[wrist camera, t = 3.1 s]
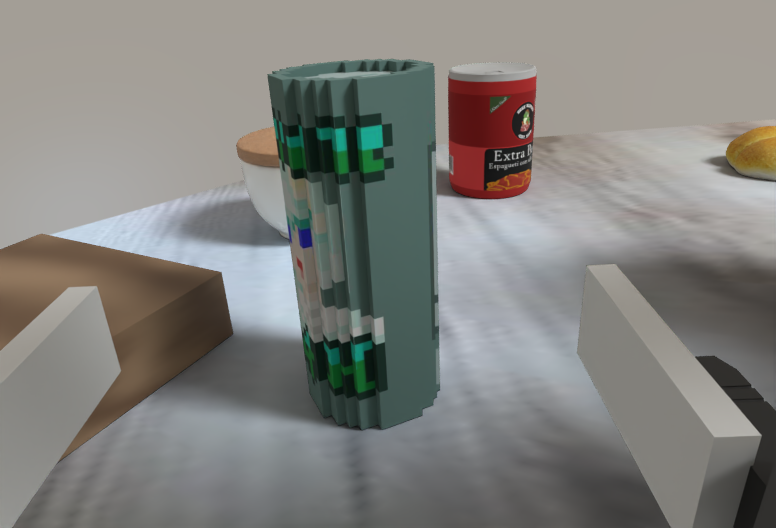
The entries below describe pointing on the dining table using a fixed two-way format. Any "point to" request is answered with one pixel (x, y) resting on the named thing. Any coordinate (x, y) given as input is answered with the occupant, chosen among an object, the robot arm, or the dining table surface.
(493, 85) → the canned food
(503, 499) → the dining table surface
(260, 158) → the lidded jar
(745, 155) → the bread roll
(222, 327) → the walnut base
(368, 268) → the can
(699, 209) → the dining table surface
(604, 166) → the dining table surface
